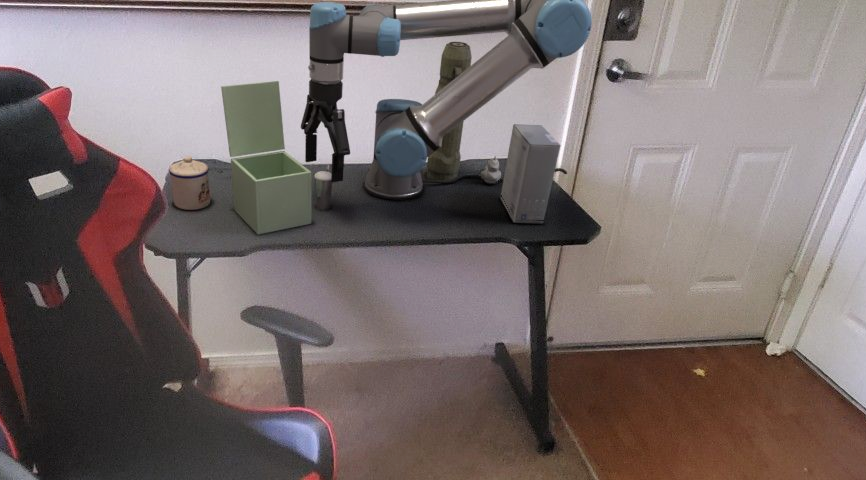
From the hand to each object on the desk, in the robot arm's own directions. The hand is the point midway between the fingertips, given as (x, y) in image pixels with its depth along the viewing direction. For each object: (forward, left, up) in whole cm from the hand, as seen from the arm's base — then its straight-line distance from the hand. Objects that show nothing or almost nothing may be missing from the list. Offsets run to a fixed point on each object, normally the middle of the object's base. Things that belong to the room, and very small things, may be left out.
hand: (323, 171), depth 160 cm
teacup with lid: (+32, 0, -9) cm, 33 cm away
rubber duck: (-45, -21, -9) cm, 51 cm away
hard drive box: (-50, -2, -9) cm, 51 cm away
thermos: (-32, -23, -9) cm, 41 cm away
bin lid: (+16, 0, +12) cm, 20 cm away
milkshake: (0, 0, -9) cm, 9 cm away
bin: (+12, +7, -9) cm, 17 cm away
